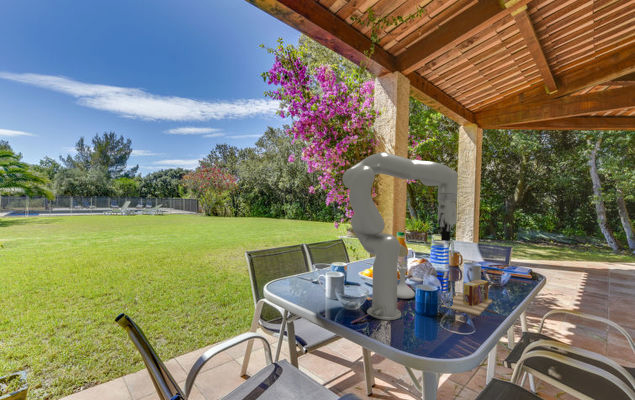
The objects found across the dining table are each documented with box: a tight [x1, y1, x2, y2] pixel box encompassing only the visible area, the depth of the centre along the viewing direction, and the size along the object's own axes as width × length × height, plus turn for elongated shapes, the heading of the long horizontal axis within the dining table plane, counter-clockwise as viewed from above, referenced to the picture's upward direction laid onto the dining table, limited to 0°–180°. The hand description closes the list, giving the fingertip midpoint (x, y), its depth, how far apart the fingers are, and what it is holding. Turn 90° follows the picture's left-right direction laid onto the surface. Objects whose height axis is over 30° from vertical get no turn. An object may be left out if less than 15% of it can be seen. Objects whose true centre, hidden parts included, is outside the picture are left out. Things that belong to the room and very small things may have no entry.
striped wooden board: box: [440, 292, 494, 317], centre depth 122 cm, size 26×14×1 cm, turn 137°
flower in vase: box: [397, 243, 416, 300], centre depth 132 cm, size 13×11×25 cm
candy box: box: [462, 279, 489, 306], centre depth 124 cm, size 9×4×15 cm
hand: (445, 240), depth 120 cm, fingers closed
